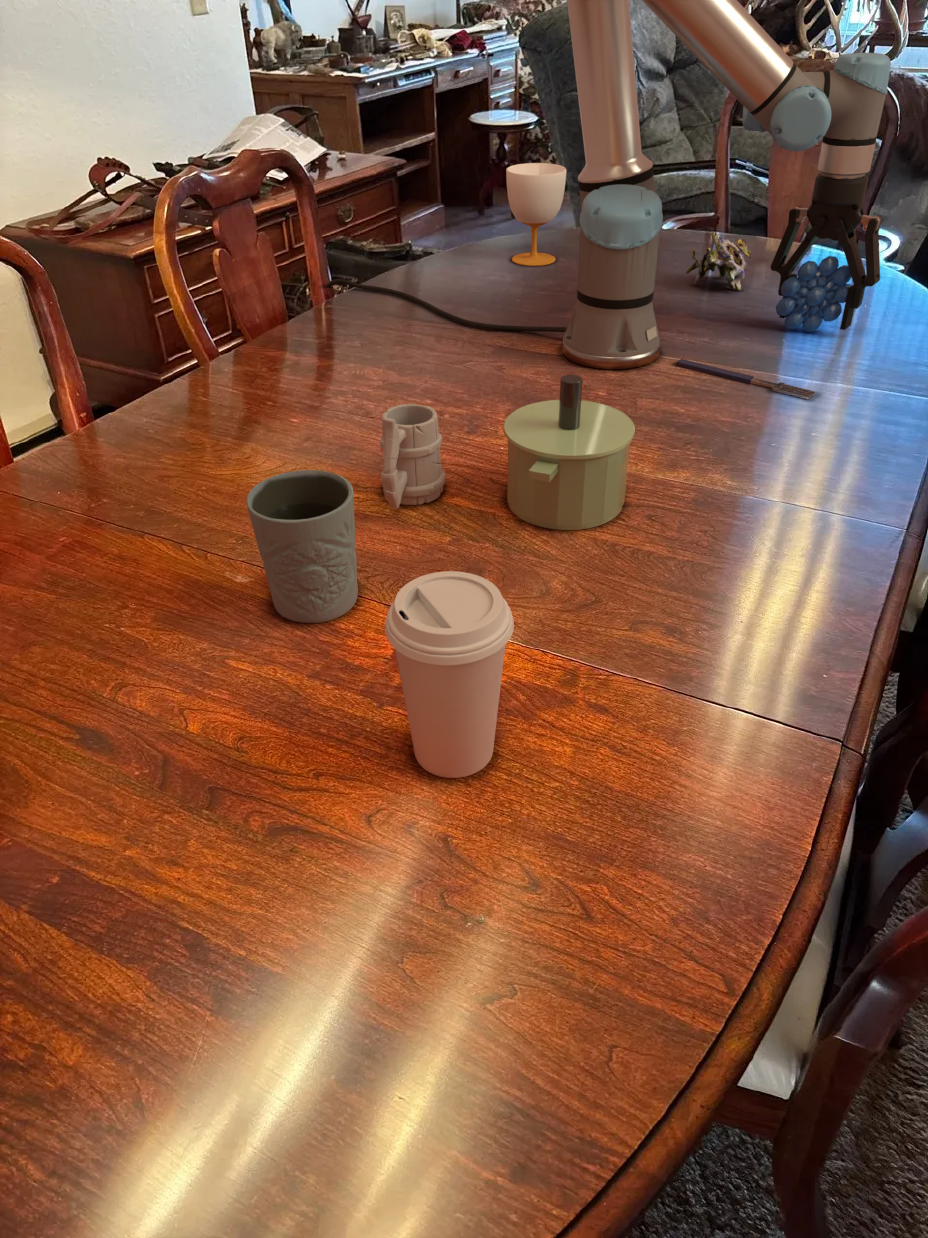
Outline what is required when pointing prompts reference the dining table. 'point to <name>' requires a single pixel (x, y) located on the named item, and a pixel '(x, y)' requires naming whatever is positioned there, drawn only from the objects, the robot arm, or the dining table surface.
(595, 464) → the pot
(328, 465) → the dining table surface
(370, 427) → the dining table surface
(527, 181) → the cup
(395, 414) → the mug
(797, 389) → the spatula
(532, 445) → the pot lid
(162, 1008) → the dining table surface
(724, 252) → the passion flower
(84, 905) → the dining table surface
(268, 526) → the embossed gray tumbler
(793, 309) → the grapes
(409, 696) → the coffee cup
